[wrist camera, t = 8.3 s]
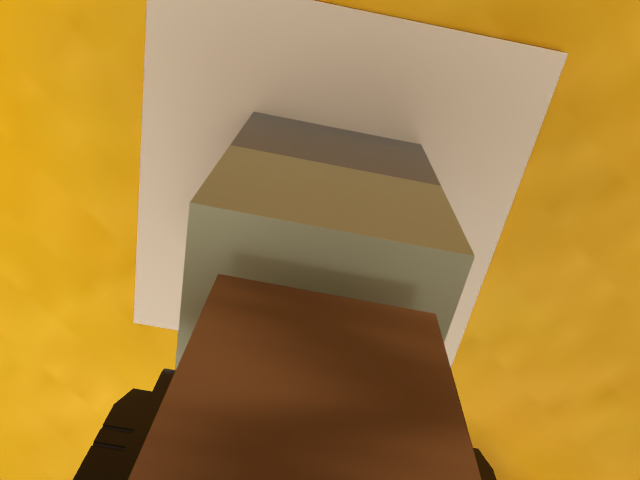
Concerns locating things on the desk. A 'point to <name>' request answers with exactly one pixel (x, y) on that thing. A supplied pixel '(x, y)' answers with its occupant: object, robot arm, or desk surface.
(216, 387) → the walnut block
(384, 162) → the slate base block
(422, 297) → the sage tower block
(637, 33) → the desk surface
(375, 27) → the beige mat
